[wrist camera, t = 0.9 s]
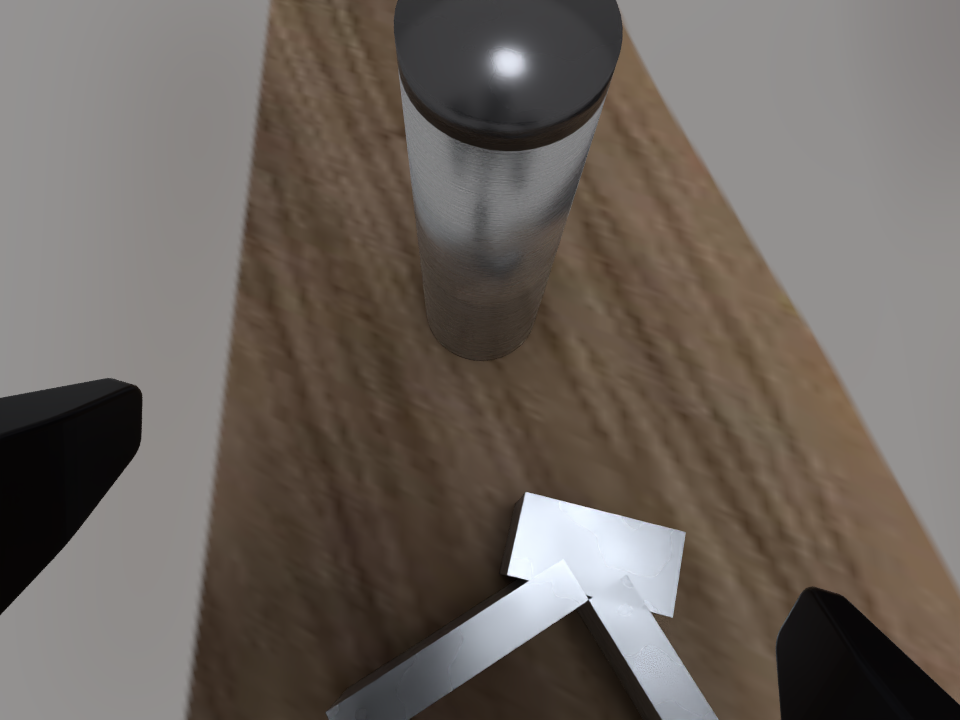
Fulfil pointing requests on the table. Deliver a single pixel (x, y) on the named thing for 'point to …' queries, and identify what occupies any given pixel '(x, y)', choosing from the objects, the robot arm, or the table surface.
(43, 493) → the robot arm
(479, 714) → the table surface
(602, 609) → the v block
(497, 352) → the axle
